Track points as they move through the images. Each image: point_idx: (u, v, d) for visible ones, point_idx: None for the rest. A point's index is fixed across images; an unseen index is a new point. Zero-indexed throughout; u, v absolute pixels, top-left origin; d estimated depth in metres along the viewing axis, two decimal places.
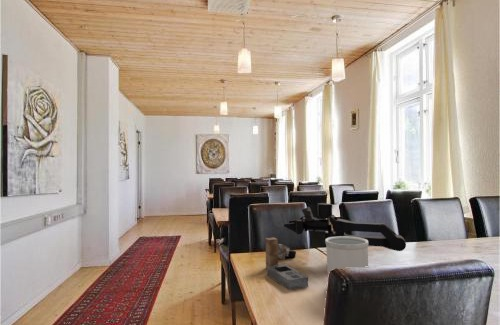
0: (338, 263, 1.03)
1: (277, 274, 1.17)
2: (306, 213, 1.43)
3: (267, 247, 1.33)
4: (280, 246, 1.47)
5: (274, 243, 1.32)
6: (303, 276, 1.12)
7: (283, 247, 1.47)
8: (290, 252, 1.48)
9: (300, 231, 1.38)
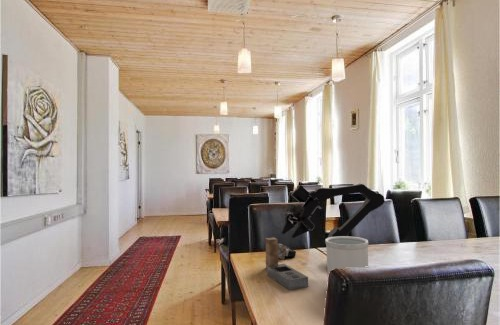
0: (338, 263, 1.03)
1: (277, 274, 1.17)
2: (298, 209, 1.35)
3: (267, 247, 1.33)
4: (280, 246, 1.48)
5: (274, 243, 1.32)
6: (303, 276, 1.12)
7: (283, 247, 1.47)
8: (290, 252, 1.48)
9: (312, 225, 1.31)
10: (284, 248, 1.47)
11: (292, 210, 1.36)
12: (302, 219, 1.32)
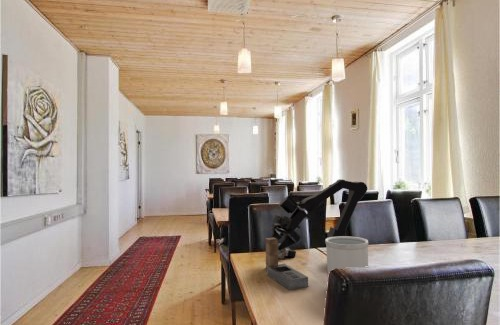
0: (338, 263, 1.03)
1: (277, 274, 1.17)
2: (285, 221, 1.32)
3: (267, 247, 1.33)
4: (279, 245, 1.48)
5: (274, 243, 1.32)
6: (303, 276, 1.12)
7: None
8: (289, 252, 1.48)
9: (299, 238, 1.28)
10: (284, 248, 1.48)
11: (279, 221, 1.33)
12: (288, 231, 1.29)
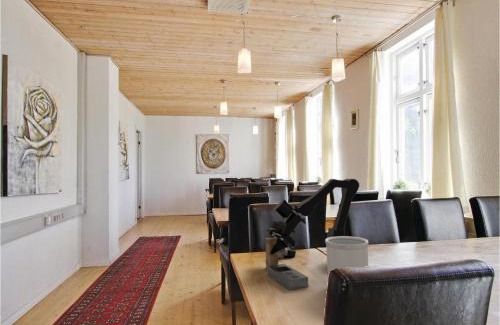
0: (338, 263, 1.03)
1: (277, 274, 1.17)
2: (280, 225, 1.31)
3: (267, 247, 1.33)
4: None
5: (274, 243, 1.32)
6: (303, 276, 1.12)
7: None
8: (289, 251, 1.49)
9: (294, 243, 1.27)
10: None
11: (273, 226, 1.32)
12: (283, 236, 1.28)
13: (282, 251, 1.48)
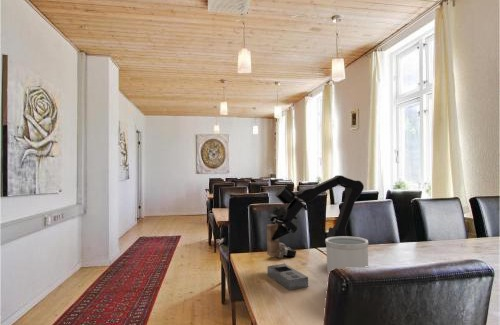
0: (338, 263, 1.03)
1: (277, 274, 1.17)
2: (281, 211, 1.29)
3: (268, 233, 1.31)
4: (279, 245, 1.50)
5: (275, 229, 1.30)
6: (303, 276, 1.12)
7: (282, 246, 1.49)
8: (289, 251, 1.49)
9: (295, 228, 1.26)
10: (283, 247, 1.49)
11: (275, 212, 1.30)
12: (284, 222, 1.26)
13: (282, 251, 1.49)
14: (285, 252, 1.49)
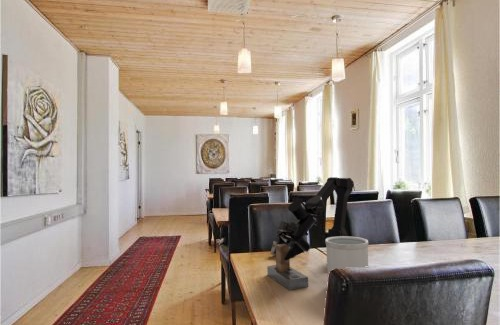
0: (338, 263, 1.03)
1: (277, 274, 1.17)
2: (292, 227, 1.18)
3: (278, 255, 1.21)
4: None
5: (286, 250, 1.20)
6: (303, 276, 1.12)
7: None
8: None
9: (308, 246, 1.15)
10: None
11: (285, 228, 1.19)
12: (296, 239, 1.15)
13: None
14: None
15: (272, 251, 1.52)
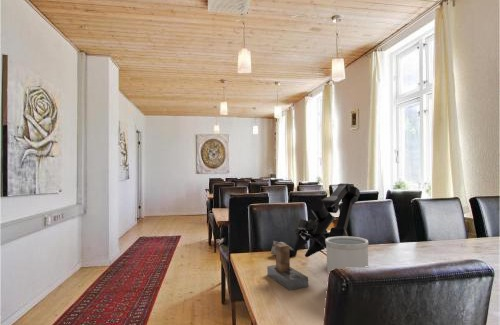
0: (338, 263, 1.03)
1: (277, 274, 1.17)
2: (311, 225, 1.22)
3: (278, 255, 1.21)
4: None
5: (286, 250, 1.20)
6: (303, 276, 1.12)
7: None
8: (289, 251, 1.50)
9: None
10: None
11: (305, 226, 1.23)
12: (316, 236, 1.19)
13: None
14: None
15: (272, 251, 1.53)
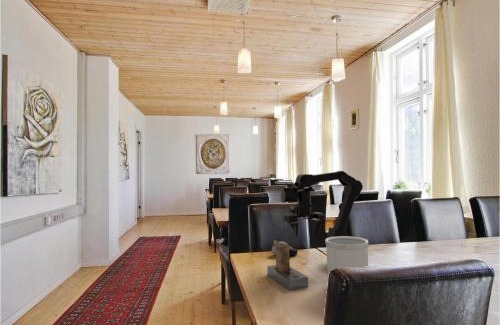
0: (338, 263, 1.03)
1: (277, 274, 1.17)
2: (289, 211, 1.41)
3: (278, 255, 1.21)
4: None
5: (286, 250, 1.20)
6: (303, 276, 1.12)
7: None
8: (289, 250, 1.51)
9: (288, 218, 1.32)
10: None
11: (292, 214, 1.43)
12: None
13: None
14: None
15: (273, 250, 1.54)
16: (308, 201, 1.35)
